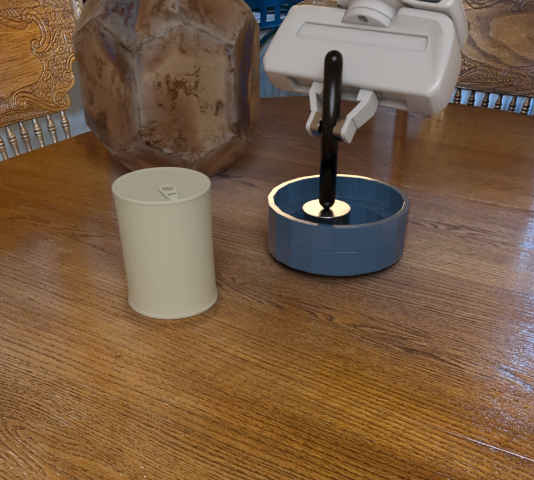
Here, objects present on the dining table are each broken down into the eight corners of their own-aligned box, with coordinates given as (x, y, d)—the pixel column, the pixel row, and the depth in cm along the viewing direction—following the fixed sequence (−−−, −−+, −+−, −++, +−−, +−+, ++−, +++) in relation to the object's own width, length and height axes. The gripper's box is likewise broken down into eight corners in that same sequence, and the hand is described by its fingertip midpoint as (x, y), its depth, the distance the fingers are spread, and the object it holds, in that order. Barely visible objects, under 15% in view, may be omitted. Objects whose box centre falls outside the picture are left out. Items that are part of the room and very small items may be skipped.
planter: (274, 148, 108) (274, -44, 92) (229, 206, 90) (220, -18, 74) (139, 137, 112) (118, -48, 96) (71, 191, 94) (31, -24, 78)
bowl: (389, 223, 86) (395, 172, 82) (415, 280, 75) (423, 225, 71) (264, 226, 86) (264, 175, 81) (271, 284, 74) (271, 229, 70)
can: (142, 328, 67) (125, 203, 59) (117, 287, 74) (98, 169, 66) (231, 308, 70) (226, 187, 62) (200, 270, 77) (191, 156, 68)
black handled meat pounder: (345, 224, 79) (357, 43, 67) (351, 244, 75) (366, 55, 64) (299, 225, 79) (304, 44, 67) (303, 245, 75) (309, 56, 63)
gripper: (284, -27, 71) (230, 101, 72) (474, -11, 62) (410, 135, 63) (307, 18, 77) (256, 136, 77) (484, 39, 68) (425, 172, 68)
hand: (327, 136), depth 70 cm, fingers closed on black handled meat pounder
